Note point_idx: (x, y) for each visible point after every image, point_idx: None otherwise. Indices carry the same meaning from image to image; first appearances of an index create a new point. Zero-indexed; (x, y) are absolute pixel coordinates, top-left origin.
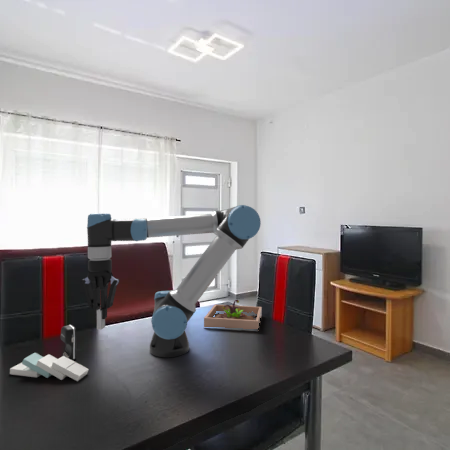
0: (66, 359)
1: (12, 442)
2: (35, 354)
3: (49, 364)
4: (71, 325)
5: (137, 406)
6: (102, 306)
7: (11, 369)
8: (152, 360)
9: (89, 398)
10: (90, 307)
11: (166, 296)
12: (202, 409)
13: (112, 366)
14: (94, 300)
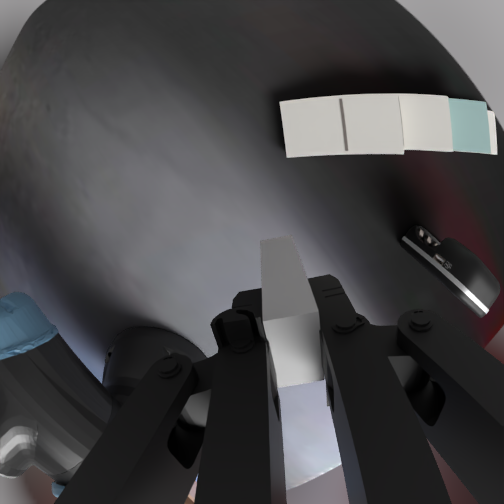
0: (380, 142)
1: None
2: (483, 145)
3: (410, 104)
4: (479, 309)
5: (54, 83)
6: (243, 361)
7: (490, 111)
8: (155, 305)
9: (174, 44)
10: (409, 313)
11: None
12: None
13: (245, 232)
14: (389, 401)
